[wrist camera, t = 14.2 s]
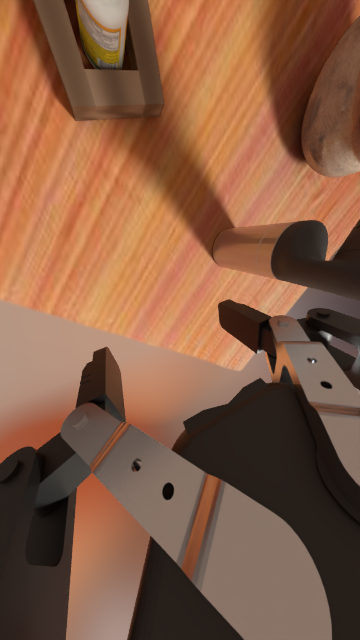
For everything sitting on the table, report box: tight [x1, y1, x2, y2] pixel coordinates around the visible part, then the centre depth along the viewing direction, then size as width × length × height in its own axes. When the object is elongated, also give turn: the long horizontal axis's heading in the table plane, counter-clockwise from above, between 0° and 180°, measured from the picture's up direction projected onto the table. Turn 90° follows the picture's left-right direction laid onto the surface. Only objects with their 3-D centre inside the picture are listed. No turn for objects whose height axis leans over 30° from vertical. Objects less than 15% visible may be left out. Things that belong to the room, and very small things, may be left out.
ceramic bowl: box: [301, 16, 360, 177], centre depth 31 cm, size 22×22×15 cm
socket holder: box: [33, 0, 164, 121], centre depth 20 cm, size 13×13×3 cm
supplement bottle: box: [75, 0, 129, 70], centre depth 17 cm, size 5×5×10 cm
